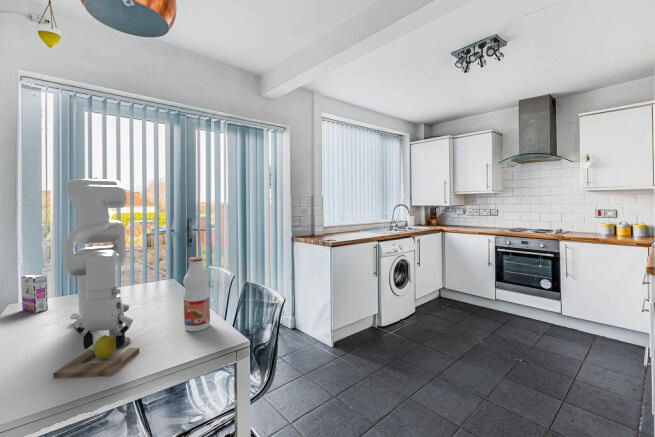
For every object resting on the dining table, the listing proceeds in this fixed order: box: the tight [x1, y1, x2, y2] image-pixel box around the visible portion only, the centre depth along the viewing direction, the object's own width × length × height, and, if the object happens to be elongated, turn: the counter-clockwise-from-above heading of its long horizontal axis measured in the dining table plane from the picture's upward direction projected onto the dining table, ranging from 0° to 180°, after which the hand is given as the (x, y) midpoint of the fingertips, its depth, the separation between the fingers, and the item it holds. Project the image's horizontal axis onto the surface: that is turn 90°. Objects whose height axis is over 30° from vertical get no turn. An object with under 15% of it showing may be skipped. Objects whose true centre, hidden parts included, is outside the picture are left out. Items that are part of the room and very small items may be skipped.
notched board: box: [52, 347, 140, 379], centre depth 93 cm, size 16×14×2 cm
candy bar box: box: [20, 273, 49, 314], centre depth 140 cm, size 11×5×16 cm, turn 68°
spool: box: [108, 303, 131, 350], centre depth 105 cm, size 8×8×13 cm
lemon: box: [93, 334, 117, 361], centre depth 95 cm, size 6×6×8 cm
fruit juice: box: [182, 256, 211, 333], centre depth 119 cm, size 9×9×28 cm
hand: (104, 346), depth 95 cm, fingers open, 9 cm apart
